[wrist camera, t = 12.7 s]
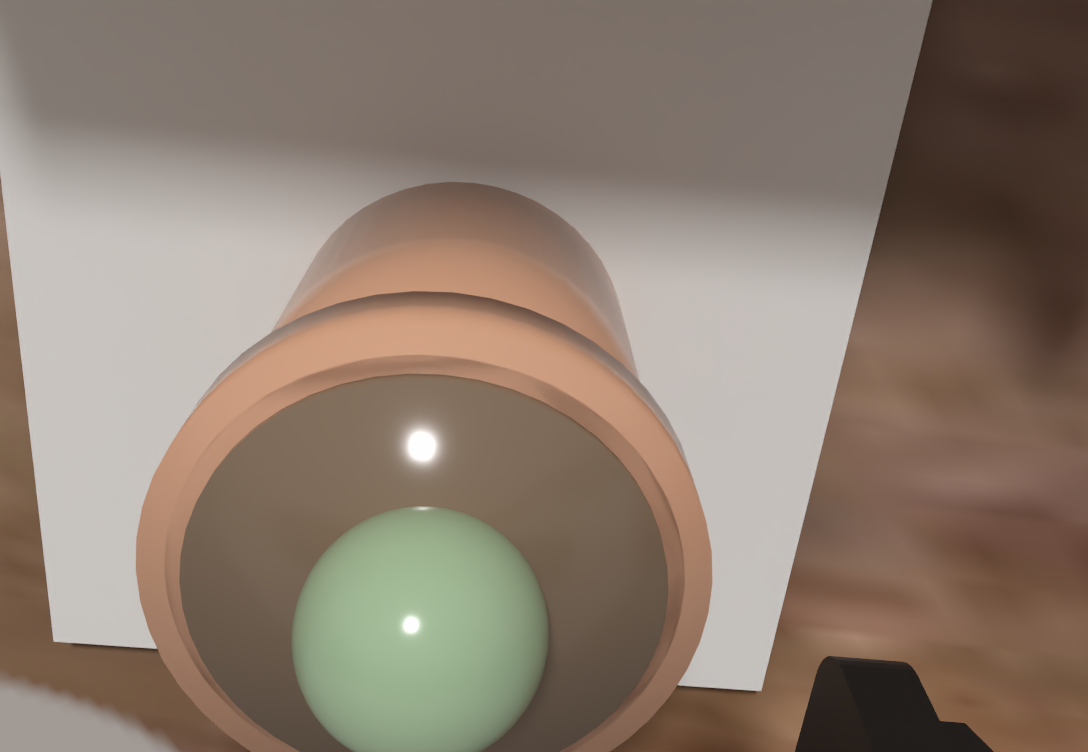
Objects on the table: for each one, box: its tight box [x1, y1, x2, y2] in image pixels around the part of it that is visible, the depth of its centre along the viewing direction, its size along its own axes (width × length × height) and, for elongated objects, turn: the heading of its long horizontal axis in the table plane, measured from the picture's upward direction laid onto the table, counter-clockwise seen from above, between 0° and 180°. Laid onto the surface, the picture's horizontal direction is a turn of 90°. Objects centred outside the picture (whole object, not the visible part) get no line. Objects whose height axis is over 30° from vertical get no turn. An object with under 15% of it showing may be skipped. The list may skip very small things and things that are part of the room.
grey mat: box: [0, 0, 933, 691], centre depth 18 cm, size 14×14×1 cm
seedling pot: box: [136, 182, 712, 752], centre depth 13 cm, size 6×6×9 cm
